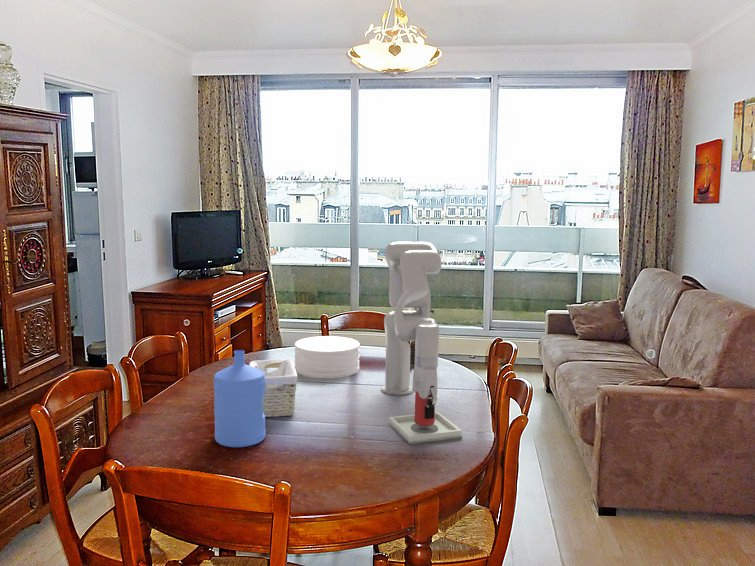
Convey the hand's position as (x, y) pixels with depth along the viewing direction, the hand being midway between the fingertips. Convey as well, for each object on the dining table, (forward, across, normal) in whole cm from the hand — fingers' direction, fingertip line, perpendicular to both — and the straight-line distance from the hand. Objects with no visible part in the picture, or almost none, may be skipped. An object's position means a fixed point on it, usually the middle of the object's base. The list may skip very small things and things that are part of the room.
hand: (424, 414), depth 211 cm
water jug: (+6, -11, -58) cm, 59 cm away
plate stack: (+6, -79, -11) cm, 80 cm away
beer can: (+3, 0, 0) cm, 3 cm away
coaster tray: (+6, 0, 0) cm, 6 cm away
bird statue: (+6, -72, +29) cm, 78 cm away
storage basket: (+6, -37, -43) cm, 57 cm away
